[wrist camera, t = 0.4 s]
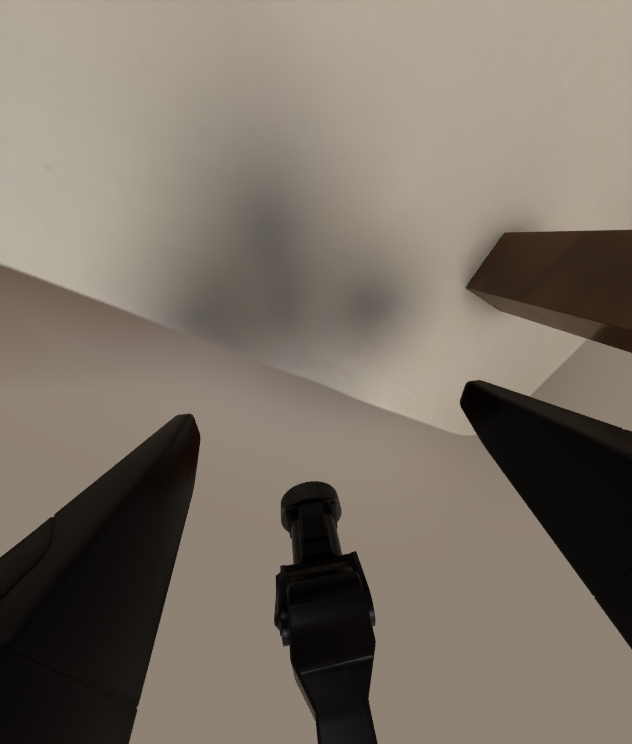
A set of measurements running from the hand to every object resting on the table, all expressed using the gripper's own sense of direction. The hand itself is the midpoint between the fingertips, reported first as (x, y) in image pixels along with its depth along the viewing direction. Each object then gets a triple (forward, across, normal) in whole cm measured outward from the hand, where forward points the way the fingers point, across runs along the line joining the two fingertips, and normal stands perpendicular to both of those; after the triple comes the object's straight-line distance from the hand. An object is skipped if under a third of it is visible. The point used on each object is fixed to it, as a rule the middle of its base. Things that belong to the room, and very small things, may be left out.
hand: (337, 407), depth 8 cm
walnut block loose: (+13, -17, -1) cm, 21 cm away
